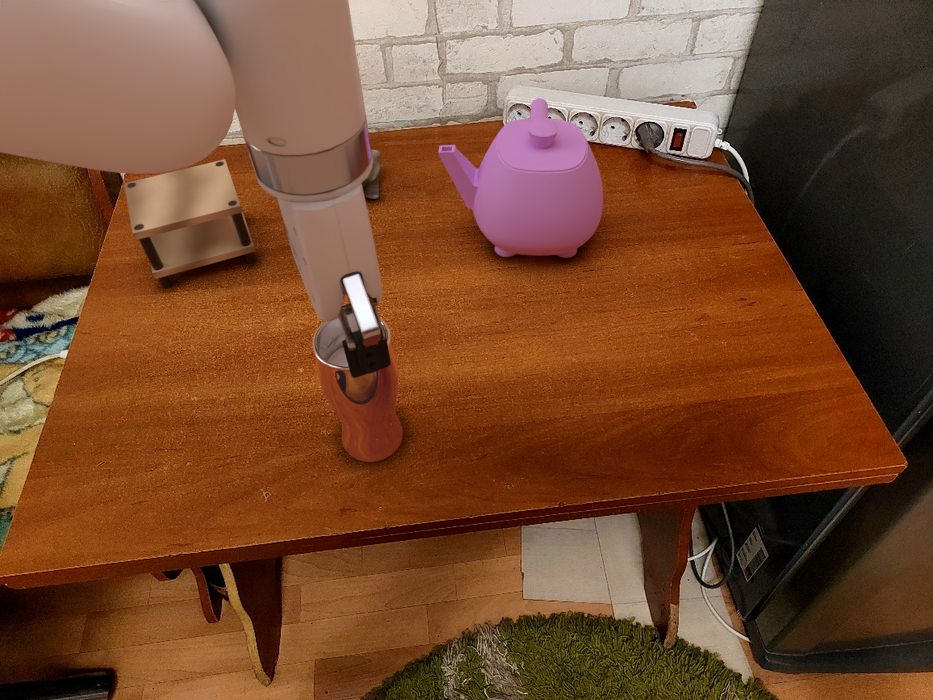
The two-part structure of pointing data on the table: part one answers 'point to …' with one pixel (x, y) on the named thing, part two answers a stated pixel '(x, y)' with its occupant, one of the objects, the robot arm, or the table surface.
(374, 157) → the fruit
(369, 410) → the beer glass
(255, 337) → the table surface
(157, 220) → the rack
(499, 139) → the teapot
